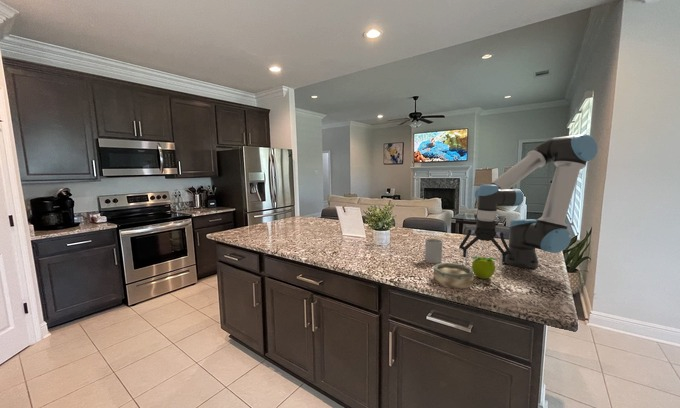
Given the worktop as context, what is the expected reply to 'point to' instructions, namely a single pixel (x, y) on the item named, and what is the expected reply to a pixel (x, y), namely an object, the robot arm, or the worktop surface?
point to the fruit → (483, 267)
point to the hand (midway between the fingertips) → (482, 266)
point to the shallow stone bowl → (453, 275)
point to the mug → (433, 251)
